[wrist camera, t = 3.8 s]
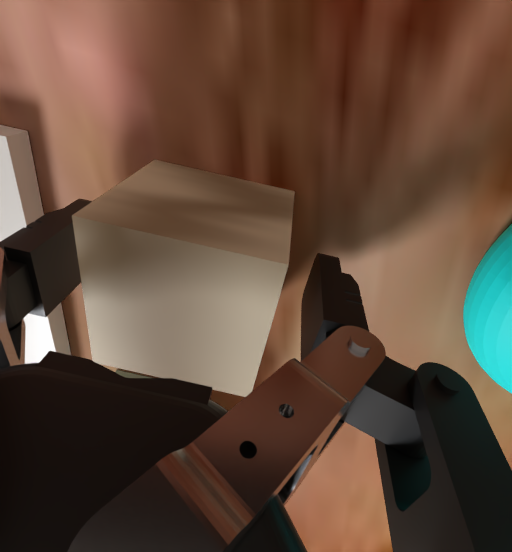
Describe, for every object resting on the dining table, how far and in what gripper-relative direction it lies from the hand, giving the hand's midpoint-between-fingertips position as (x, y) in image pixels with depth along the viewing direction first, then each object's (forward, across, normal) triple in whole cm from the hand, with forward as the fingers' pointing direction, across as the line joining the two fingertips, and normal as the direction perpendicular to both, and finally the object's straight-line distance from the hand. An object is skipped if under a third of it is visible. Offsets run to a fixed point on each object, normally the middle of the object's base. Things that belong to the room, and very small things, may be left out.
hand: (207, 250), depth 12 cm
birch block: (+1, 0, 0) cm, 1 cm away
